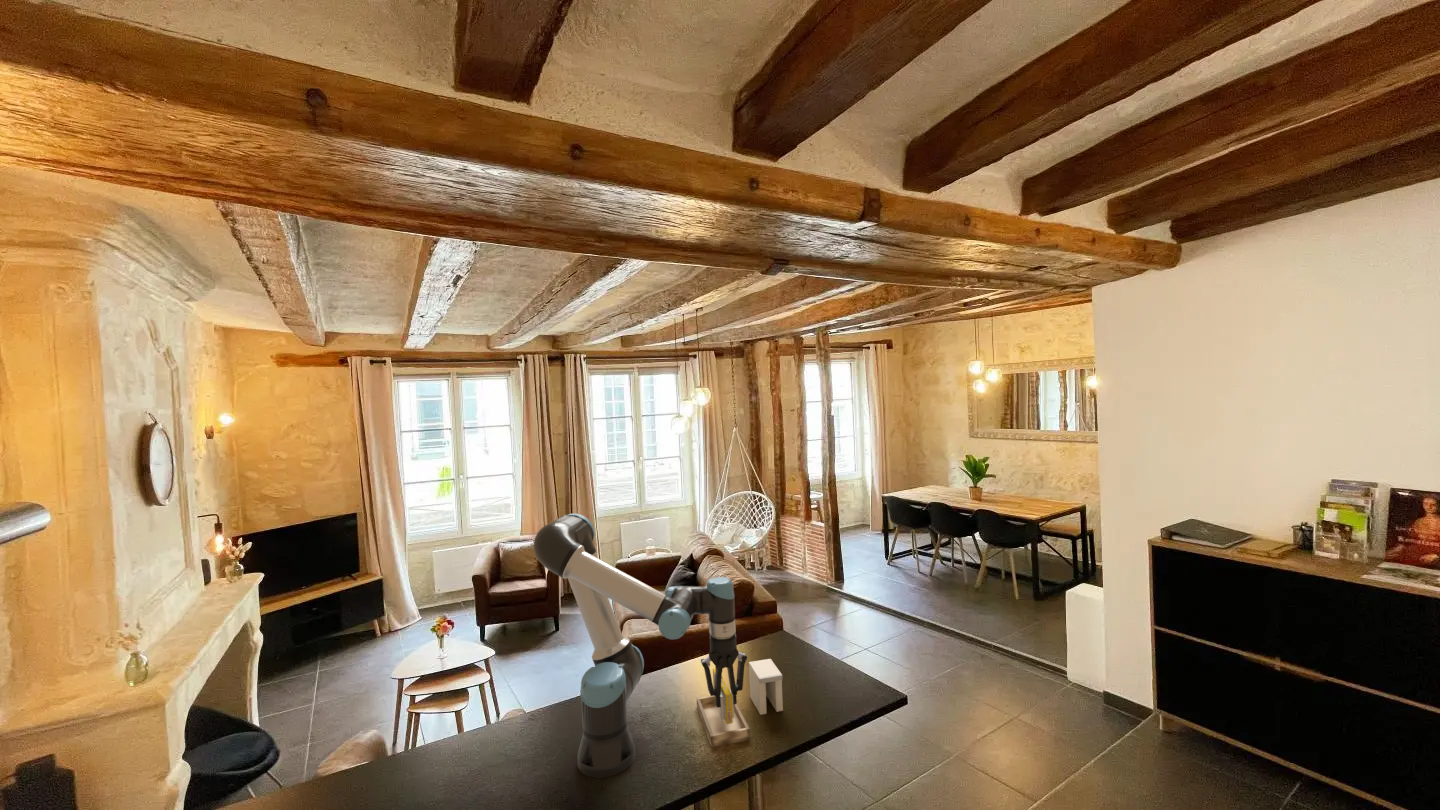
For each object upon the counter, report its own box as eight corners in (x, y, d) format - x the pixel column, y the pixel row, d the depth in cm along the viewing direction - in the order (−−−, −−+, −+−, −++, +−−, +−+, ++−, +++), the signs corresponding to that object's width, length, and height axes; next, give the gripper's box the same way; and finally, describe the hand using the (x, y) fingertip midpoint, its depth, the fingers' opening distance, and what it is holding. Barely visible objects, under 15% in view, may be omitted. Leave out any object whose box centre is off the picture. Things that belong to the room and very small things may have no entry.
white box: (761, 716, 166) (759, 679, 166) (750, 697, 177) (748, 662, 177) (783, 712, 168) (782, 675, 168) (771, 693, 179) (770, 658, 178)
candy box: (734, 723, 155) (732, 693, 155) (726, 725, 154) (724, 695, 154) (720, 693, 171) (718, 667, 170) (713, 695, 170) (711, 668, 170)
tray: (711, 747, 153) (711, 736, 153) (696, 707, 172) (696, 698, 172) (749, 739, 155) (749, 729, 155) (731, 701, 175) (730, 692, 175)
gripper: (699, 643, 152) (703, 729, 153) (752, 635, 156) (756, 718, 156) (693, 632, 159) (697, 714, 160) (744, 624, 163) (748, 704, 164)
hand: (726, 716), depth 158 cm, fingers closed on candy box, 2 cm apart
